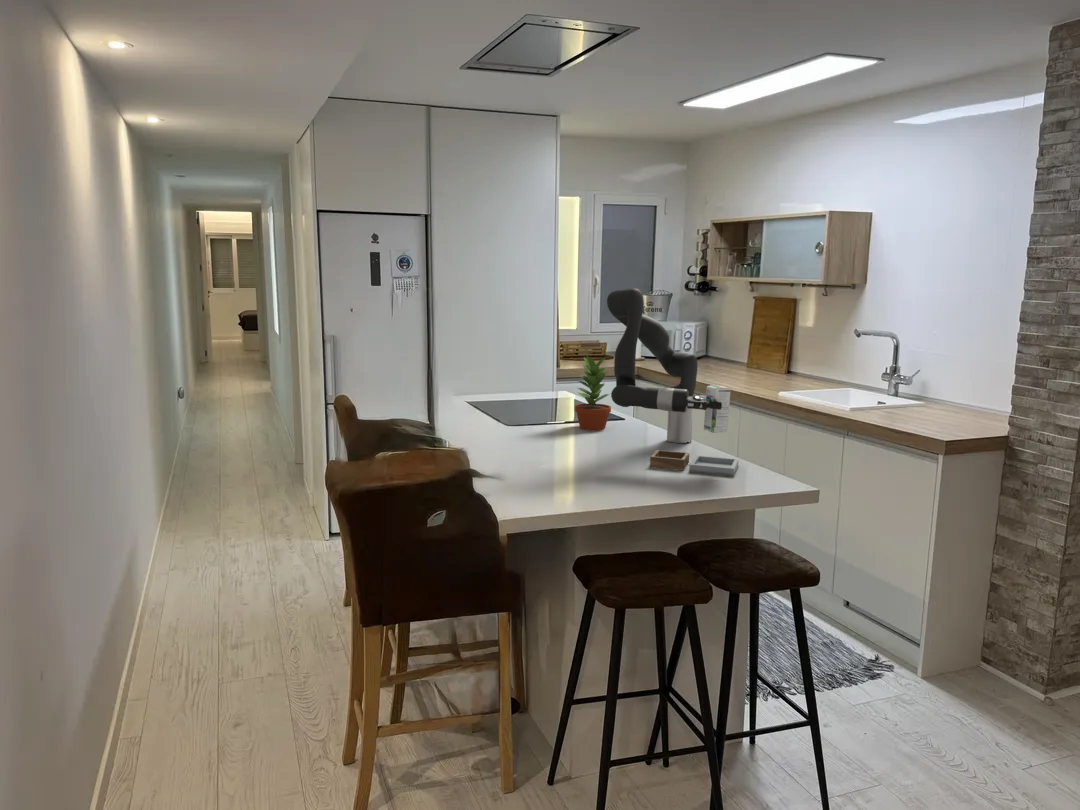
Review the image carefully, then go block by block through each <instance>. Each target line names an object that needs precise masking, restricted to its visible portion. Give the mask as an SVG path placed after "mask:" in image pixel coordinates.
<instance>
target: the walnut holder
mask: <svg viewBox="0 0 1080 810" xmlns="http://www.w3.org/2000/svg"><path fill="white" fill-rule="evenodd" d="M649 459H650V460H649V467H650V468H653V467H656V468H655V469H663V468H667V469H666V470H674V469H677V470H676V471H684V470H685V469H686V468H687V466H688V465H689V464H690V452H686V451H675V450H674V451H673V450H662V449H656V450H655V451H654V452H653V453H652V454H651V456H650V457H649ZM688 463H689V464H688ZM685 467H686V468H685Z"/></svg>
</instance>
